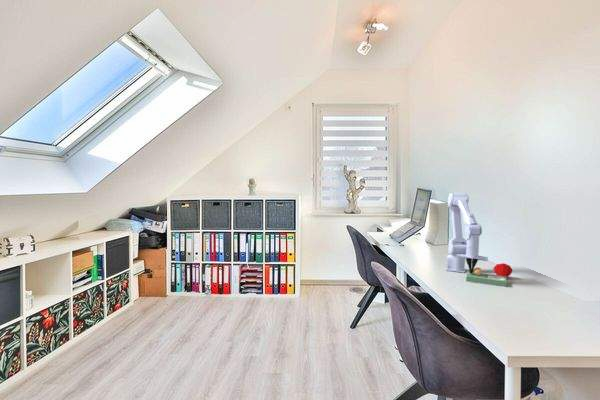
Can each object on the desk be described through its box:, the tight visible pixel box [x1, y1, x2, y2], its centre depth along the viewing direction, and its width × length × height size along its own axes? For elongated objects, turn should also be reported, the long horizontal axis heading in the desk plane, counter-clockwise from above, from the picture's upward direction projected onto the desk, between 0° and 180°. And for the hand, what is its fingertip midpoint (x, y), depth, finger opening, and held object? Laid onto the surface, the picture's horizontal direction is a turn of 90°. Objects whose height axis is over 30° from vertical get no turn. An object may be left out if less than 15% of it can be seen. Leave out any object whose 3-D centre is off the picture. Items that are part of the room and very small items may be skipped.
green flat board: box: [465, 271, 508, 288], centre depth 187 cm, size 18×11×2 cm, turn 62°
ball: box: [473, 267, 483, 275], centre depth 189 cm, size 4×4×4 cm
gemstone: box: [493, 262, 513, 279], centre depth 192 cm, size 9×9×10 cm
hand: (471, 273), depth 190 cm, fingers closed
